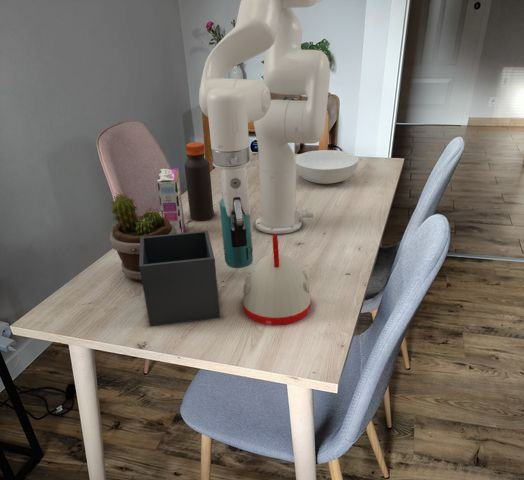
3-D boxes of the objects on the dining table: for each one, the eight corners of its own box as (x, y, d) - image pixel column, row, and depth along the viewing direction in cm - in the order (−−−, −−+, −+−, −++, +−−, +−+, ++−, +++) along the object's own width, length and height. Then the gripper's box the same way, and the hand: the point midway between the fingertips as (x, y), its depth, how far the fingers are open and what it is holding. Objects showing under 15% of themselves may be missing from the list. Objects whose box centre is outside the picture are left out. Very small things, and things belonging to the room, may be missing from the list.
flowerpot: (189, 261, 130) (179, 178, 118) (167, 291, 117) (154, 202, 106) (133, 257, 132) (118, 176, 121) (106, 286, 120) (87, 199, 109)
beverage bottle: (250, 275, 118) (244, 186, 106) (221, 273, 119) (212, 185, 108) (256, 261, 123) (251, 175, 111) (228, 260, 125) (221, 175, 113)
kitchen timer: (307, 289, 116) (308, 223, 107) (313, 323, 105) (315, 252, 96) (243, 292, 116) (239, 226, 107) (243, 326, 105) (238, 255, 96)
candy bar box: (184, 243, 138) (176, 180, 129) (165, 244, 138) (156, 181, 129) (186, 227, 147) (178, 166, 138) (167, 228, 147) (159, 168, 138)
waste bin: (213, 285, 119) (207, 230, 111) (220, 317, 108) (214, 258, 100) (149, 292, 117) (140, 237, 110) (149, 326, 106) (139, 266, 98)
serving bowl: (282, 183, 176) (281, 162, 172) (314, 167, 189) (314, 147, 185) (338, 194, 165) (339, 171, 162) (367, 176, 179) (369, 154, 175)
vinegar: (186, 220, 152) (178, 147, 140) (195, 211, 157) (187, 140, 145) (209, 222, 150) (202, 148, 139) (217, 213, 155) (211, 141, 144)
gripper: (256, 167, 100) (260, 254, 111) (243, 142, 114) (248, 222, 124) (216, 171, 99) (224, 259, 110) (208, 145, 113) (216, 225, 124)
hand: (237, 238), depth 117 cm, fingers closed on beverage bottle, 6 cm apart
